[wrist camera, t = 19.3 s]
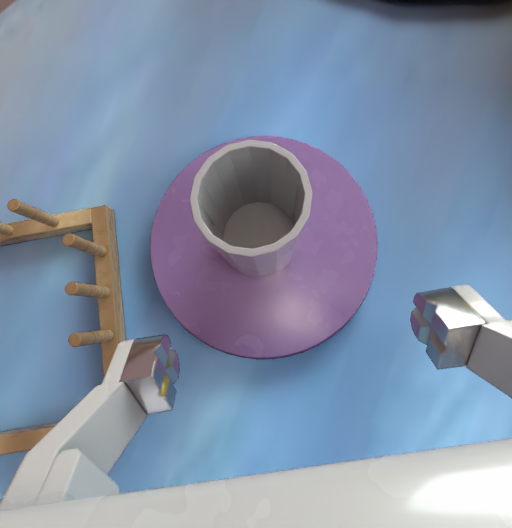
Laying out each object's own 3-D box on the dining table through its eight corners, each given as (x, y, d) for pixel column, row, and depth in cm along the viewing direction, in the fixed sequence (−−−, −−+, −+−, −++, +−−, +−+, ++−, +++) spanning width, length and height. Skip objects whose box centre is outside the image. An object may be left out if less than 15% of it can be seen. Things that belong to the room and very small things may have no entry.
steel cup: (249, 292, 21) (235, 280, 13) (205, 230, 22) (168, 184, 14) (314, 246, 21) (337, 208, 13) (268, 186, 22) (264, 118, 14)
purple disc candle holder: (233, 407, 21) (231, 412, 19) (114, 221, 23) (106, 216, 22) (423, 268, 21) (432, 266, 20) (286, 104, 24) (286, 93, 23)
